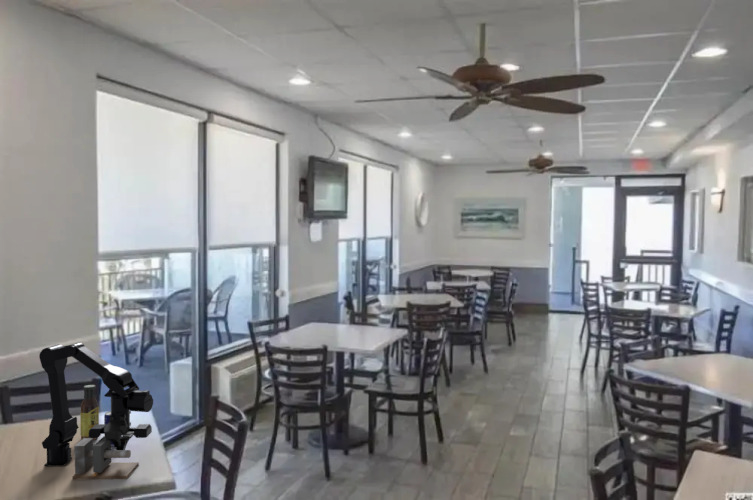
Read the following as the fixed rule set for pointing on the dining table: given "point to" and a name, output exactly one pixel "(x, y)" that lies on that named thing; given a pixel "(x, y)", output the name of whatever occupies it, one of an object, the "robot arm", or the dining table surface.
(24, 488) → the dining table surface
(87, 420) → the sauce bottle
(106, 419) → the energy drink
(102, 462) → the grey flat block
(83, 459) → the pipe fixture
